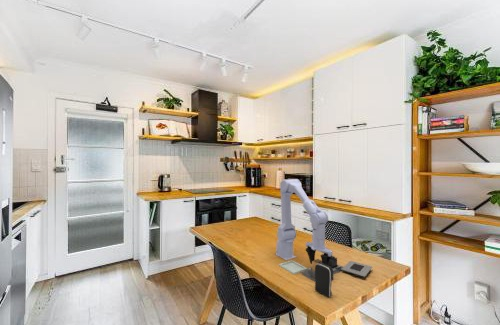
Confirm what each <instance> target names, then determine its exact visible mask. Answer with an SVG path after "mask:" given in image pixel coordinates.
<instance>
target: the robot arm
mask: <svg viewBox="0 0 500 325" xmlns="http://www.w3.org/2000/svg"><path fill="white" fill-rule="evenodd" d="M279 186H280V187H279V189H280V193H279V194H280V207H281V208H280V209H281V223H280V225H278V226H277V231H276V232H277V233H276V238H277V241H276V248H275V249H276V253H275V255H276V256H278V257H279V258H282V260H285V261H287V260H292V259H295V258H297V255H295V254H294V241H295V239H296V237H297V232H296V227H295V225H294V224H292V205H291V203H292V201H291V196H292V195H293V193H294V194H295V195H296V196H297V197H298V198H299V199H300V201H301V202H302V203H303V204H302V206H303V208H304V210H305V211H306V213H307V214H308V215H309V221H310V224H311V228H312V240H311V241H312V242H310V241H306V242H305V247H306V248H305V251H306V254H307V256H308V260H309V264H311V265H312V261H314V260H316V259H315V258H316V257H315V256H316V252H317V251H318V252H320V253H321V254H320V258H321V259H320V260H321V261H322V263H323V264H325V265H328V263H329V261H330V259H331V257H332V256H333V251H332V250H331V249H329V248H327V247H326V224H327V223H328V221H329V217H328V215H327V213H326V211H323V210H322V209H320V208H319V207H318V206H317V204H316V201H314V200H313V199H310V198H309V196H307V193H306V192H305V190H304V189H303V187H302V183H301V181H300V179H298V178H292V179H290V178H288V179H285V178H283V179H282V180H281V181H280V183H279Z"/></svg>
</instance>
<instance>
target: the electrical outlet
mask: <svg viewBox="0 0 500 325" xmlns="http://www.w3.org/2000/svg"><path fill="white" fill-rule="evenodd" d="M342 267H343V268H342V269H341V270H342V271H341V272H344V273H347V274H348V273H349V274H351V275H355V276H357V277H360V278H365V277H366V276H367V275H368V274H369V272H370V271H371V269H372V268H373V266H371V265H367V264H364V263H360V262H357V261H352V260H349V261H348V262H347V263H346V264H345V265H343V266H342Z"/></svg>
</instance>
